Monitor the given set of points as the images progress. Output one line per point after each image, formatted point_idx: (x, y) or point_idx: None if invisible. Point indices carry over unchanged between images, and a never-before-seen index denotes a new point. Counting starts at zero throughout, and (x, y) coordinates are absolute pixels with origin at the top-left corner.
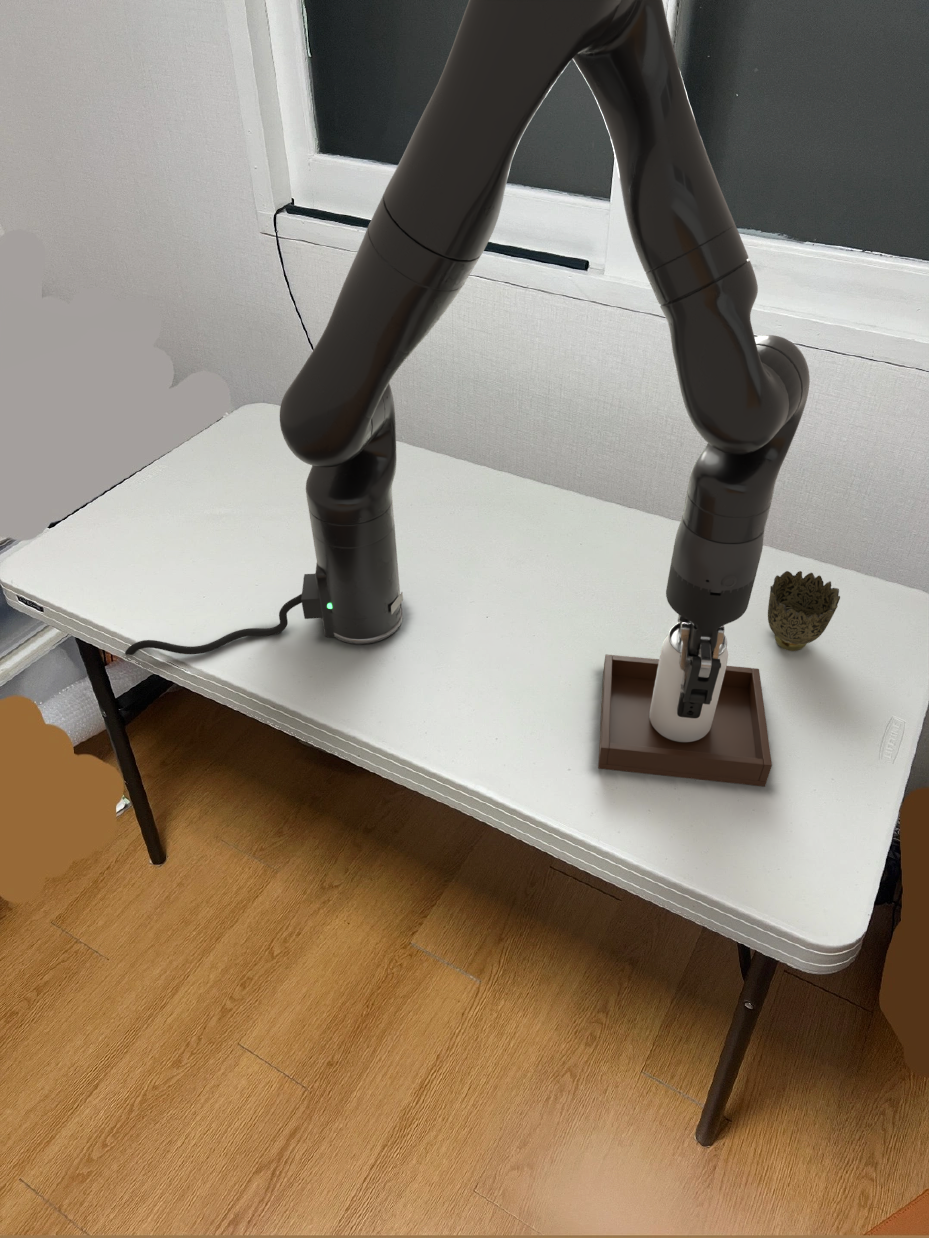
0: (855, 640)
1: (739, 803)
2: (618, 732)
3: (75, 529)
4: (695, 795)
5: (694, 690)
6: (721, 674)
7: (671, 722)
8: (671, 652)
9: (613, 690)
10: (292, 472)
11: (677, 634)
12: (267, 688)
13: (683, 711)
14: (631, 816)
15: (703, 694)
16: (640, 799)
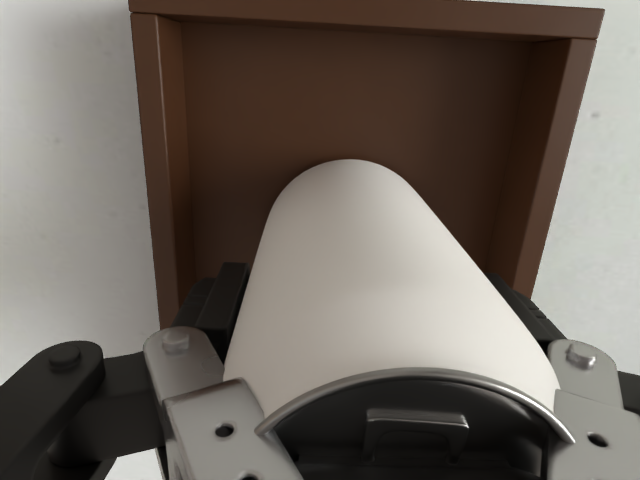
0: None
1: (135, 335)
2: (291, 62)
3: None
4: (133, 251)
5: (70, 424)
6: None
7: (265, 227)
8: (311, 356)
9: (465, 51)
10: None
11: (466, 412)
12: None
13: (188, 294)
14: (23, 93)
15: (54, 458)
16: (85, 120)
